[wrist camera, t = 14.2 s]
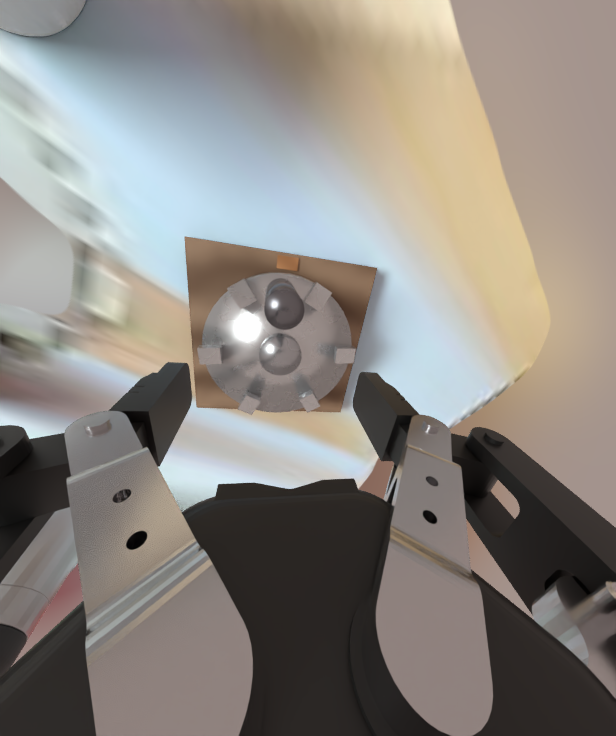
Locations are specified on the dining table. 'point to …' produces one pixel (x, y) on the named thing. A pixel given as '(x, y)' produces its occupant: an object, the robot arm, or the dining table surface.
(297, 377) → the silver round piece
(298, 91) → the dining table surface
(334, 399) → the brown wooden board
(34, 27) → the utensil holder
